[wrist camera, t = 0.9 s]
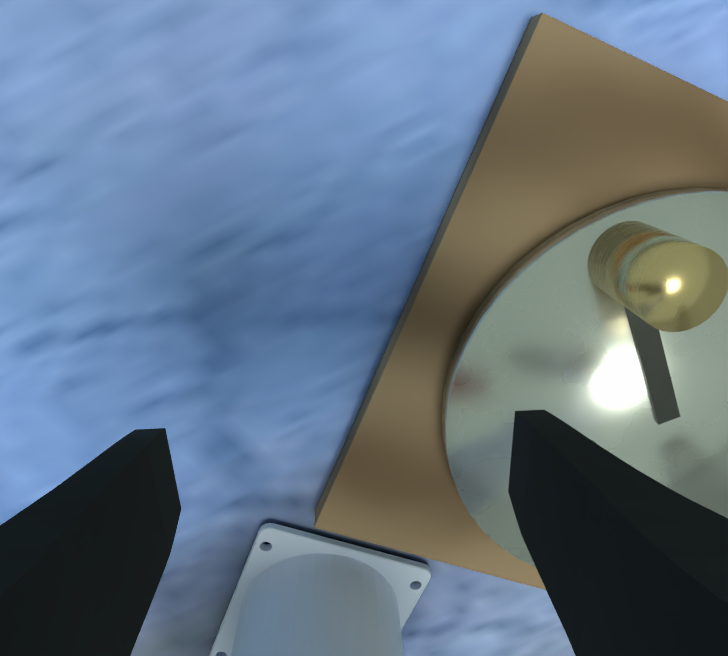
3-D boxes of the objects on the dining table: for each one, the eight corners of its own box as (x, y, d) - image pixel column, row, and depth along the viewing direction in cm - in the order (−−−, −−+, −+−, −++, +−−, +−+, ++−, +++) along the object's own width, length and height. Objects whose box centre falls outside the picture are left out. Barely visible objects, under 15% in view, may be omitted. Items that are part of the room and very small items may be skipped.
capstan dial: (881, 484, 23) (992, 562, 19) (515, 611, 25) (548, 706, 21) (849, 102, 17) (1002, 102, 13) (374, 306, 19) (383, 359, 15)
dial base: (698, 616, 27) (730, 662, 25) (315, 510, 24) (312, 553, 21) (1006, 243, 20) (1087, 260, 18) (531, 17, 17) (560, 4, 15)
